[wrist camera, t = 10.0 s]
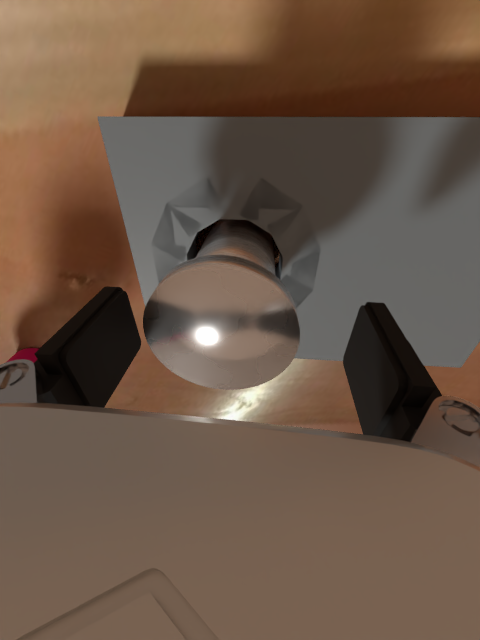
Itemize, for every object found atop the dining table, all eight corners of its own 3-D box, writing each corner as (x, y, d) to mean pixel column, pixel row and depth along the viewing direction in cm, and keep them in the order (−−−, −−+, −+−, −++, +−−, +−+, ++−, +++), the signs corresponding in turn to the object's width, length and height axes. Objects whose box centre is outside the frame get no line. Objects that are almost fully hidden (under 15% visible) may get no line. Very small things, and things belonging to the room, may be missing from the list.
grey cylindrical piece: (290, 202, 15) (312, 270, 8) (280, 292, 19) (290, 393, 12) (189, 200, 16) (125, 263, 9) (198, 288, 19) (158, 385, 12)
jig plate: (579, 118, 12) (640, 117, 10) (441, 343, 21) (460, 367, 19) (122, 118, 14) (97, 116, 12) (166, 329, 22) (156, 350, 20)
